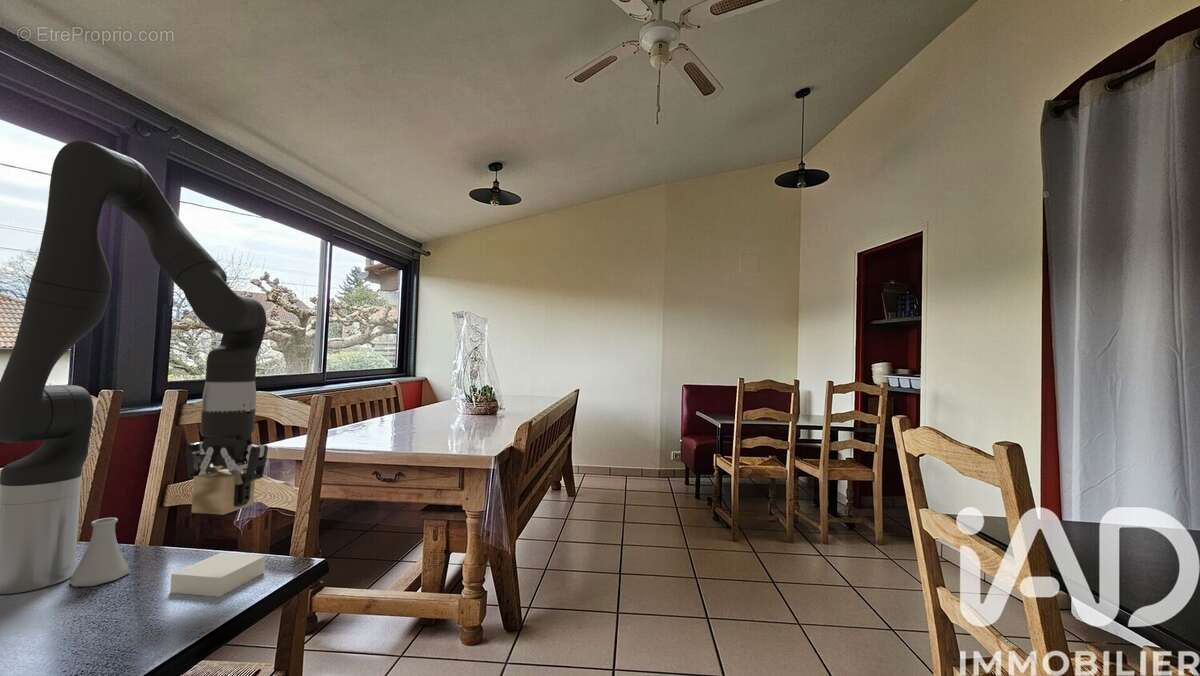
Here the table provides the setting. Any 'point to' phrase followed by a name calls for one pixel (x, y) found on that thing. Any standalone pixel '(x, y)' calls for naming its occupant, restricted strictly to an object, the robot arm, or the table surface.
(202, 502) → the oak block
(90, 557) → the flask
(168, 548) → the table surface
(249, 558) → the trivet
